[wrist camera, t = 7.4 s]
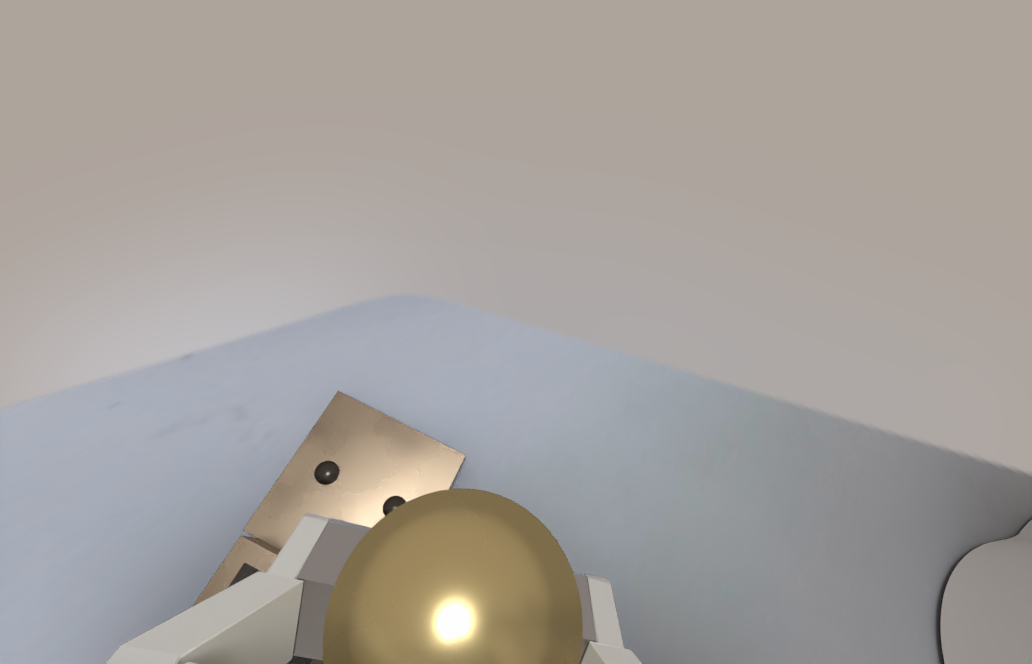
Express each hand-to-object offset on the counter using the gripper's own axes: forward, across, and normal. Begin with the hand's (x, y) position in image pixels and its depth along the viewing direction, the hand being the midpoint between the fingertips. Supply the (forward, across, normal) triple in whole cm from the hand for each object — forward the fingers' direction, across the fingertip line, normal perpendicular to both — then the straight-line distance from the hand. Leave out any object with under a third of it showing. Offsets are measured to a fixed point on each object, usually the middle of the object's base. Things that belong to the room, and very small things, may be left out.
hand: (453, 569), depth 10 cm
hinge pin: (+3, 0, +4) cm, 5 cm away
